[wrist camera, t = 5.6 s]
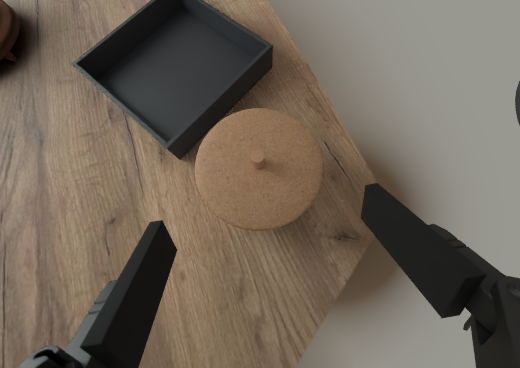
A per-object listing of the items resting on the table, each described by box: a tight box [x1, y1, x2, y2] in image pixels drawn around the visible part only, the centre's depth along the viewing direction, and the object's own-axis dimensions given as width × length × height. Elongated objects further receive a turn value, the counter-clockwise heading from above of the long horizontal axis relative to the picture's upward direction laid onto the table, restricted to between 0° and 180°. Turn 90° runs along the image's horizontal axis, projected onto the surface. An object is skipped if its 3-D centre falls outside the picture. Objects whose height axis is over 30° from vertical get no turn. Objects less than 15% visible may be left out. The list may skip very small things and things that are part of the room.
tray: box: [72, 0, 273, 159], centre depth 27 cm, size 18×18×3 cm
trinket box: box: [195, 108, 324, 231], centre depth 20 cm, size 11×11×9 cm
